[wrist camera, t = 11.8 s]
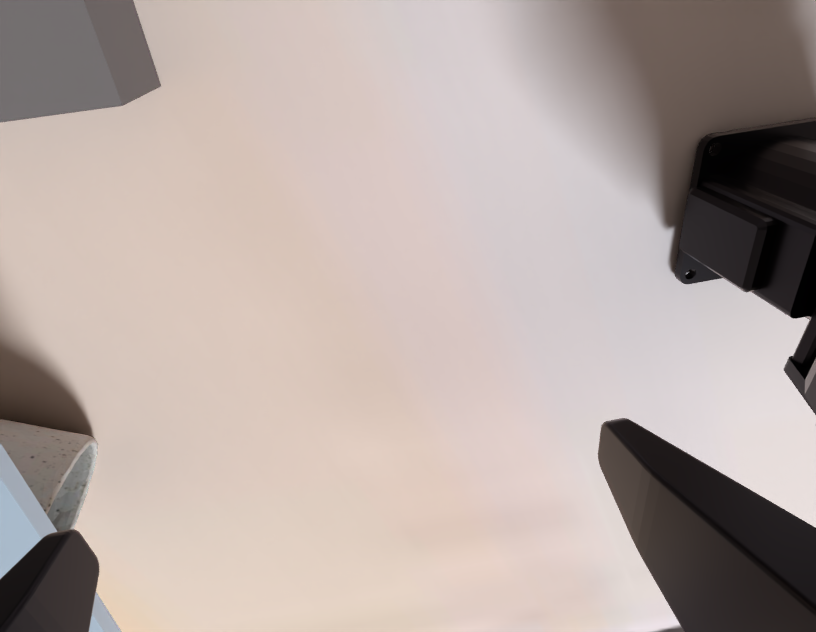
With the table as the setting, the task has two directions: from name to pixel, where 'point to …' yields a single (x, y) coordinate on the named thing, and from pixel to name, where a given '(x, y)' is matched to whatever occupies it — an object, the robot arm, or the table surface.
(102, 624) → the square plate with knob
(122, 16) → the gray square slab
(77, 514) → the ceramic mug
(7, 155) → the table surface
